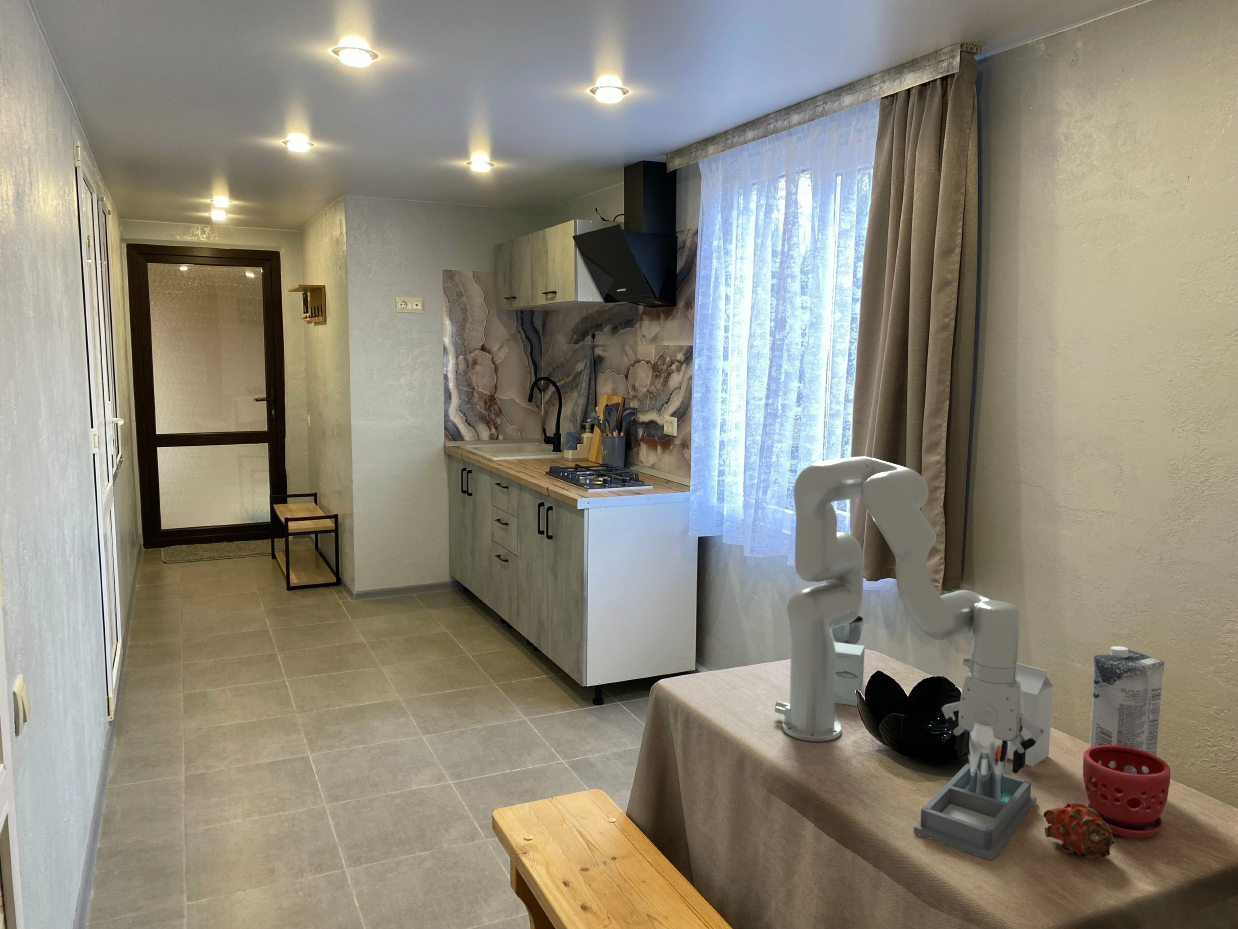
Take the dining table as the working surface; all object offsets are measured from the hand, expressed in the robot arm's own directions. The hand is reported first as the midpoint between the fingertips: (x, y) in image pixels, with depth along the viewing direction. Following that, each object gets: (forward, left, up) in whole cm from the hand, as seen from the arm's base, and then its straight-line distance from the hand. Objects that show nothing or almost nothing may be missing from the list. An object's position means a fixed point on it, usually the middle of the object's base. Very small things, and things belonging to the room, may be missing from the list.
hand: (989, 762), depth 162 cm
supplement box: (-42, +29, -9) cm, 52 cm away
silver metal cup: (0, 0, -7) cm, 7 cm away
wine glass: (-49, +43, -8) cm, 66 cm away
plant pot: (+20, +9, -9) cm, 23 cm away
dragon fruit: (+16, -5, -9) cm, 19 cm away
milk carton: (-1, +25, -8) cm, 26 cm away
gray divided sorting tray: (0, -5, -8) cm, 10 cm away
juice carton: (+17, +22, -8) cm, 29 cm away
